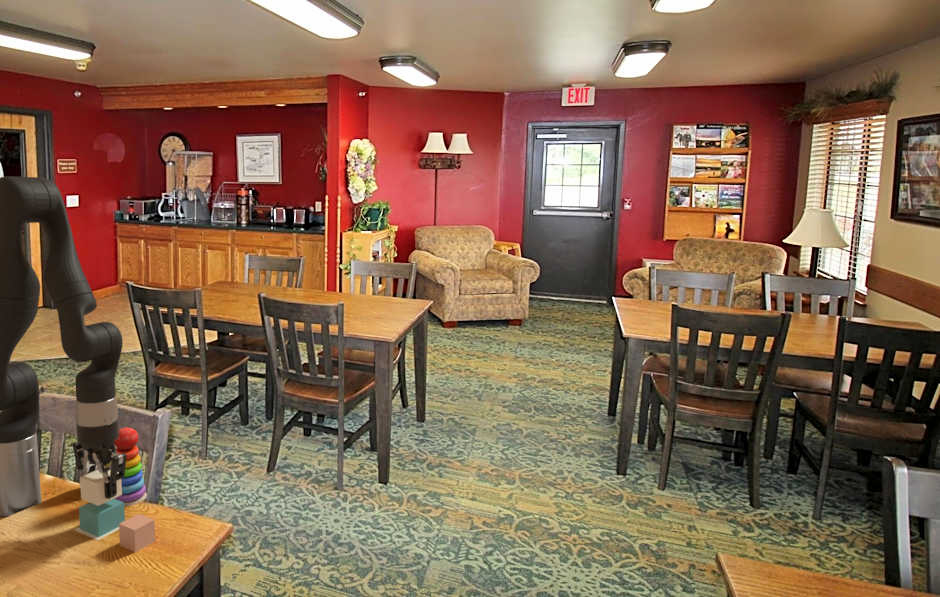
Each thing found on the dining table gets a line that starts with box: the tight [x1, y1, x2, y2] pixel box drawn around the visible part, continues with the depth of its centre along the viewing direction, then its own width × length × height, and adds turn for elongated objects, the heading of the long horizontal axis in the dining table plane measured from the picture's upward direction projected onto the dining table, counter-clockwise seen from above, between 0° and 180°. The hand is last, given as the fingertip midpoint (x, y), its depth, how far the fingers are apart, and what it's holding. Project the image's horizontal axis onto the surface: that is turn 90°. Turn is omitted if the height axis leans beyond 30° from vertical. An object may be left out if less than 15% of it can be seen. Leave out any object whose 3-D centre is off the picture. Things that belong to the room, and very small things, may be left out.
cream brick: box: [79, 467, 122, 506], centre depth 134 cm, size 5×5×5 cm
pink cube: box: [118, 513, 156, 553], centre depth 130 cm, size 5×5×5 cm
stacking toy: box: [114, 427, 148, 508], centre depth 146 cm, size 8×8×19 cm
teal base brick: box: [78, 499, 126, 537], centre depth 135 cm, size 6×6×5 cm
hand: (101, 492), depth 134 cm, fingers closed on cream brick, 5 cm apart
